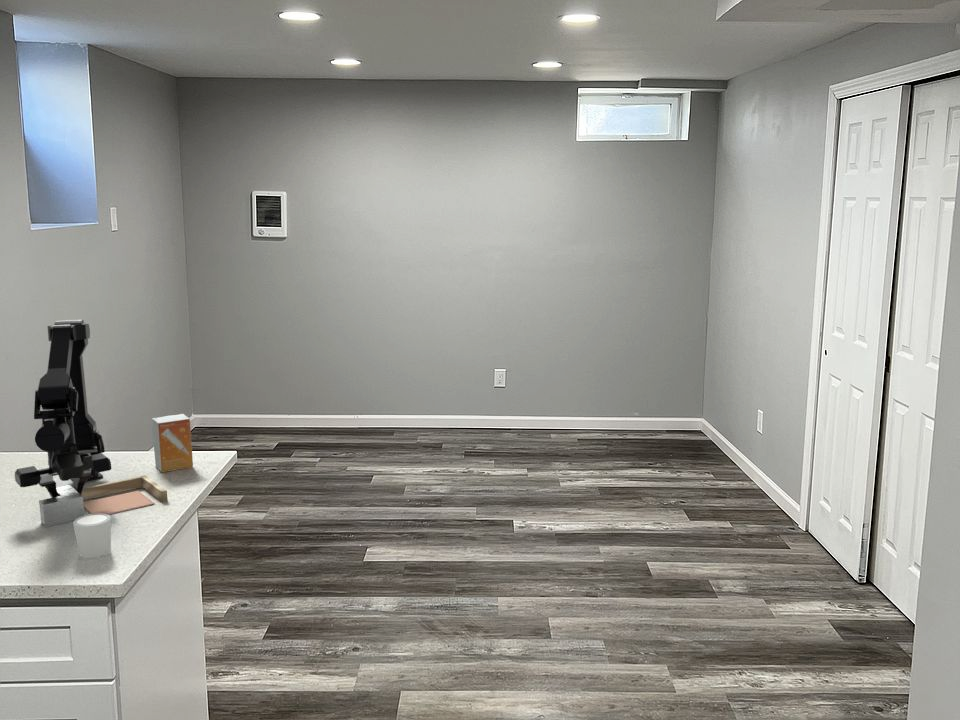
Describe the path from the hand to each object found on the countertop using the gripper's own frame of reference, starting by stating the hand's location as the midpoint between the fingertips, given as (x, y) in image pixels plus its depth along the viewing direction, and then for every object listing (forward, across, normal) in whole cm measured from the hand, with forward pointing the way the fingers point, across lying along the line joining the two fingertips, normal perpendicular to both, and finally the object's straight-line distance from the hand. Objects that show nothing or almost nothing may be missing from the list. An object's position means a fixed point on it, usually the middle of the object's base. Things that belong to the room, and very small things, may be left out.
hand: (67, 506), depth 200 cm
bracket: (+1, -2, -2) cm, 3 cm away
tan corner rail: (+1, +11, 0) cm, 11 cm away
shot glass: (+2, -2, -28) cm, 28 cm away
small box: (+2, +30, +16) cm, 34 cm away
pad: (+1, +10, -2) cm, 10 cm away
